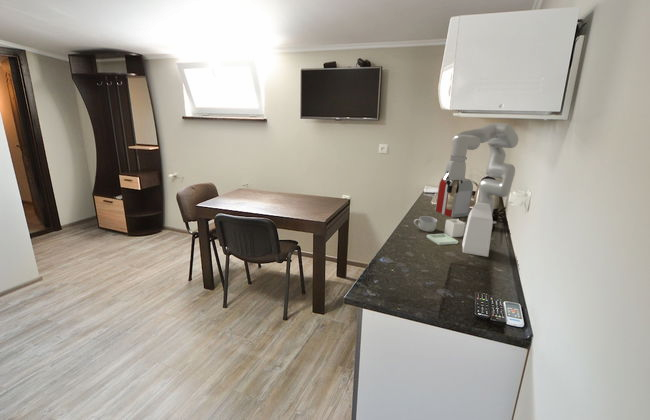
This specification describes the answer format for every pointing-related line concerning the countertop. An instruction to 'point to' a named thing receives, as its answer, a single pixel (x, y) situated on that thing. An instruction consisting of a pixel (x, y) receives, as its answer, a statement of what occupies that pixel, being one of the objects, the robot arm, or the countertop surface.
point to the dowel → (452, 195)
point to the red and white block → (460, 201)
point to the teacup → (426, 223)
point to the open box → (454, 228)
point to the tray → (442, 239)
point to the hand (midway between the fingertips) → (452, 192)
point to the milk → (478, 230)
